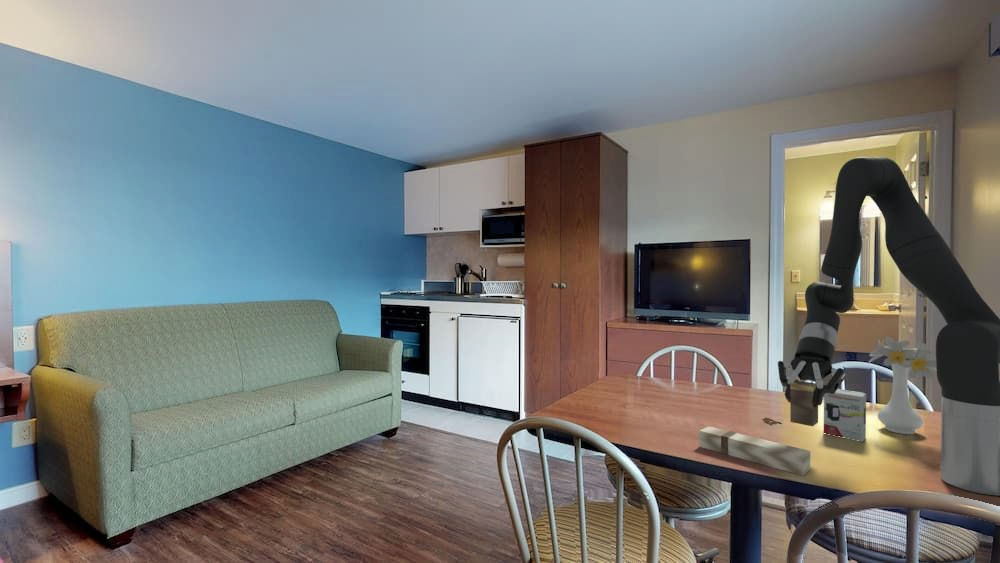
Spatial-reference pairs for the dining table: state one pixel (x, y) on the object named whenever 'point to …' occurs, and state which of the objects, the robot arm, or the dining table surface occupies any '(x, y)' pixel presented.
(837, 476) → the dining table surface
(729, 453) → the board
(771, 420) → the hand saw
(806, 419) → the brown rectangular block
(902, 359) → the flower vase
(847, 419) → the ink box
